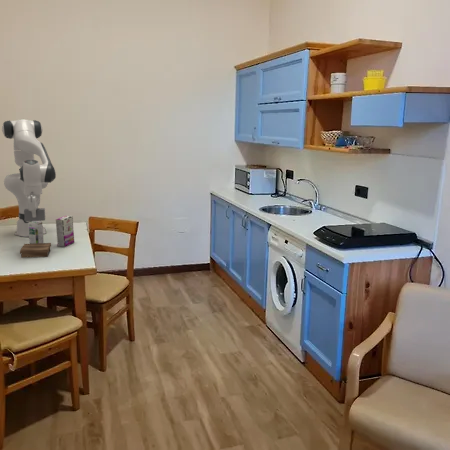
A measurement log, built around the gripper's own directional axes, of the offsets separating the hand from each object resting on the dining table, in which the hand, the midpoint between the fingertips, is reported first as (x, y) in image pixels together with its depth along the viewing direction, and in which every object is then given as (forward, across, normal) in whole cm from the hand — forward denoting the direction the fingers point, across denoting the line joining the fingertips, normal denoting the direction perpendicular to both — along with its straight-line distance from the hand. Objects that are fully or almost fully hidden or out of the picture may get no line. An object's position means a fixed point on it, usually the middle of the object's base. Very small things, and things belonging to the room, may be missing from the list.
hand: (35, 216), depth 256 cm
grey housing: (+2, 0, 0) cm, 2 cm away
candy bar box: (+21, +16, -14) cm, 30 cm away
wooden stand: (+21, 0, +1) cm, 21 cm away
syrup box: (+21, +16, +2) cm, 27 cm away
